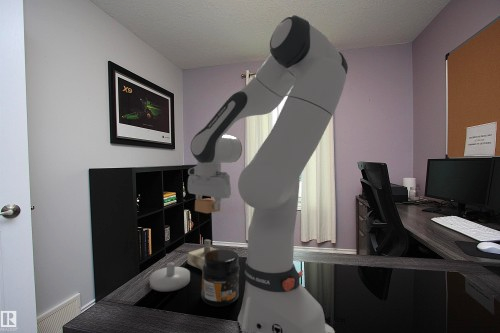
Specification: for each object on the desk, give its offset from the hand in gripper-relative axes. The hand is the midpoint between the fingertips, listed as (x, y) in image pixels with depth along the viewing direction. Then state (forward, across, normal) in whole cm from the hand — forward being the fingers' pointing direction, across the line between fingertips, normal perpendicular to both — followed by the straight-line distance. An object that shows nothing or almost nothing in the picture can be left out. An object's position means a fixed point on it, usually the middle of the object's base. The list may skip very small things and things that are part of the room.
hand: (207, 207), depth 88 cm
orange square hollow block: (+1, 0, 0) cm, 1 cm away
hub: (+21, -2, +16) cm, 27 cm away
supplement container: (+21, -20, +12) cm, 32 cm away
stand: (+21, 0, -1) cm, 21 cm away
